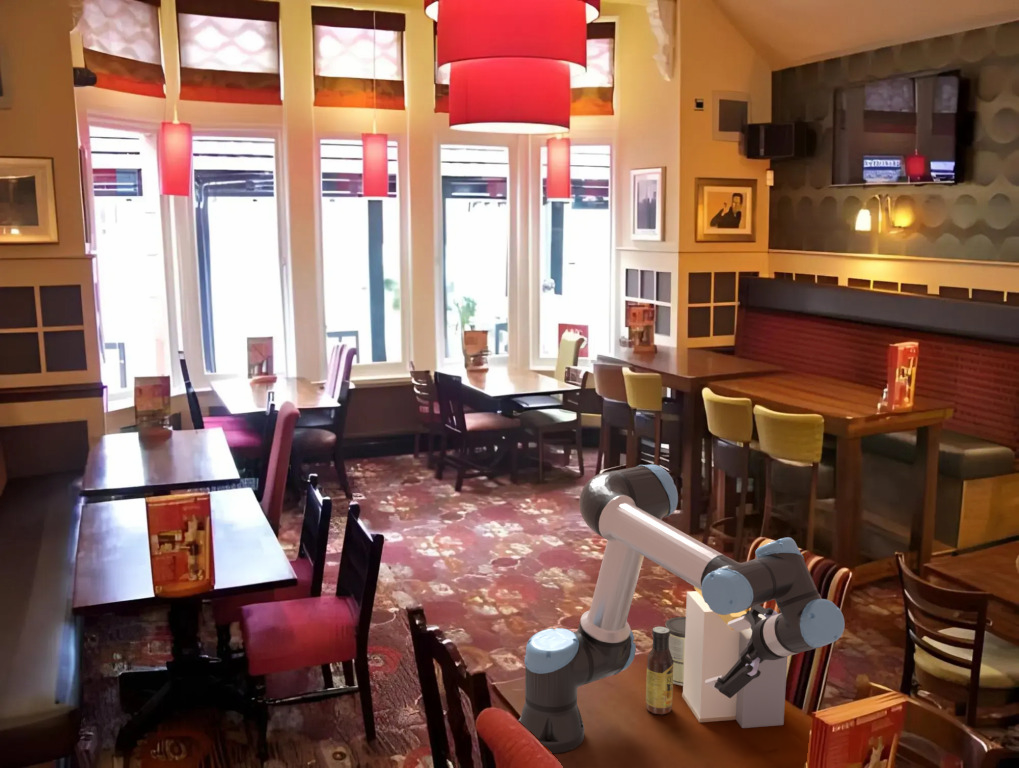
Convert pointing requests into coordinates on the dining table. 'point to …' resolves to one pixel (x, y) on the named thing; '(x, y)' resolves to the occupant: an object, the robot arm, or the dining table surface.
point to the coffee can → (677, 647)
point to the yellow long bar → (729, 616)
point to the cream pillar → (707, 660)
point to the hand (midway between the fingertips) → (722, 655)
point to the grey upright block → (762, 691)
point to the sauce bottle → (659, 673)
